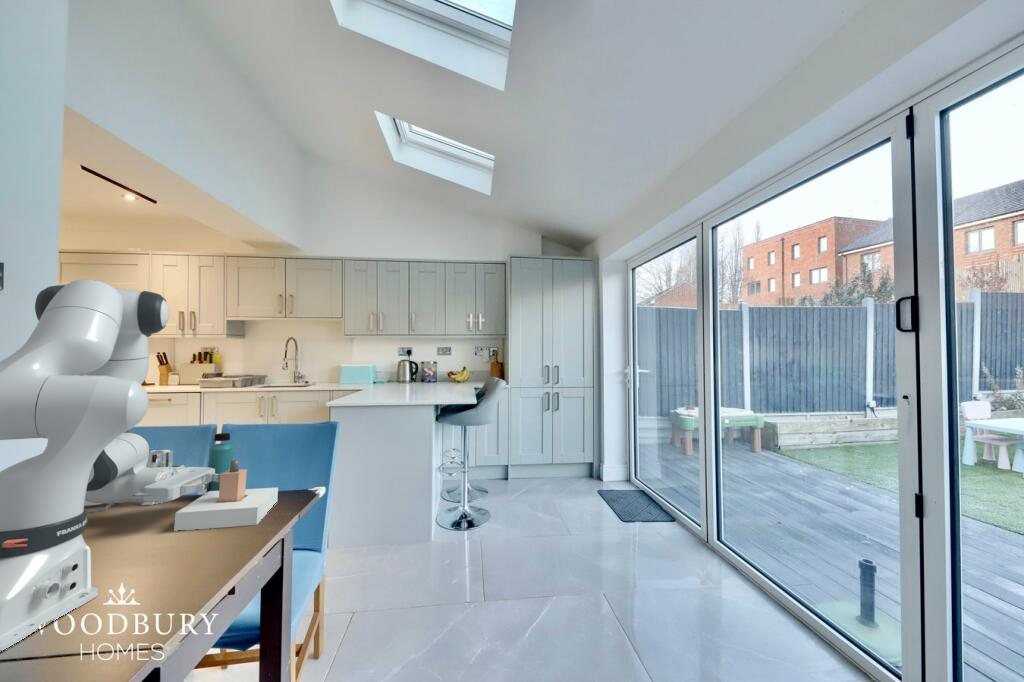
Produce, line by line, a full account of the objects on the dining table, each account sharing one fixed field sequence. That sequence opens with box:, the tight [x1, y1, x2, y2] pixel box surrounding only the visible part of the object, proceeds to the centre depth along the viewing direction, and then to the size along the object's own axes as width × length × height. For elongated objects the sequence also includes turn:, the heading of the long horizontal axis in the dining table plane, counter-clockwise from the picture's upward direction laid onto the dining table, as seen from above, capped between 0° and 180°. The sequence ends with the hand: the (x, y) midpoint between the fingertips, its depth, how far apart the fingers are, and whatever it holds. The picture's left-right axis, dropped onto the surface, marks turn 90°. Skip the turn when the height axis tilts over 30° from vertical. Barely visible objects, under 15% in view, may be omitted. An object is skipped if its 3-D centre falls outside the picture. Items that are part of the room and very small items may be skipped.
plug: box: [218, 459, 248, 503], centre depth 108 cm, size 4×4×15 cm
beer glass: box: [139, 449, 174, 506], centre depth 117 cm, size 7×7×15 cm
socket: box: [173, 487, 279, 532], centre depth 108 cm, size 18×18×4 cm
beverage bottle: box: [205, 432, 234, 494], centre depth 123 cm, size 6×7×20 cm
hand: (215, 482), depth 107 cm, fingers open, 8 cm apart
